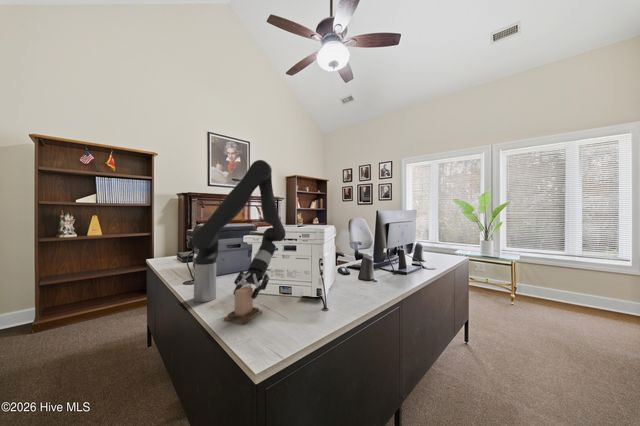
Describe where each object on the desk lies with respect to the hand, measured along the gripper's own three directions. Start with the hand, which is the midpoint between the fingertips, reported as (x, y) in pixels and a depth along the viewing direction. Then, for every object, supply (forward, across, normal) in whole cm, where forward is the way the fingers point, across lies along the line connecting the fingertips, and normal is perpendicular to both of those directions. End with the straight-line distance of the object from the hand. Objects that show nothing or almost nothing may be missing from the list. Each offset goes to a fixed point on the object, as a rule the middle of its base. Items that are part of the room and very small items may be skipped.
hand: (243, 296), depth 96 cm
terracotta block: (+5, 0, +5) cm, 7 cm away
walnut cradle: (+6, 0, +6) cm, 8 cm away
